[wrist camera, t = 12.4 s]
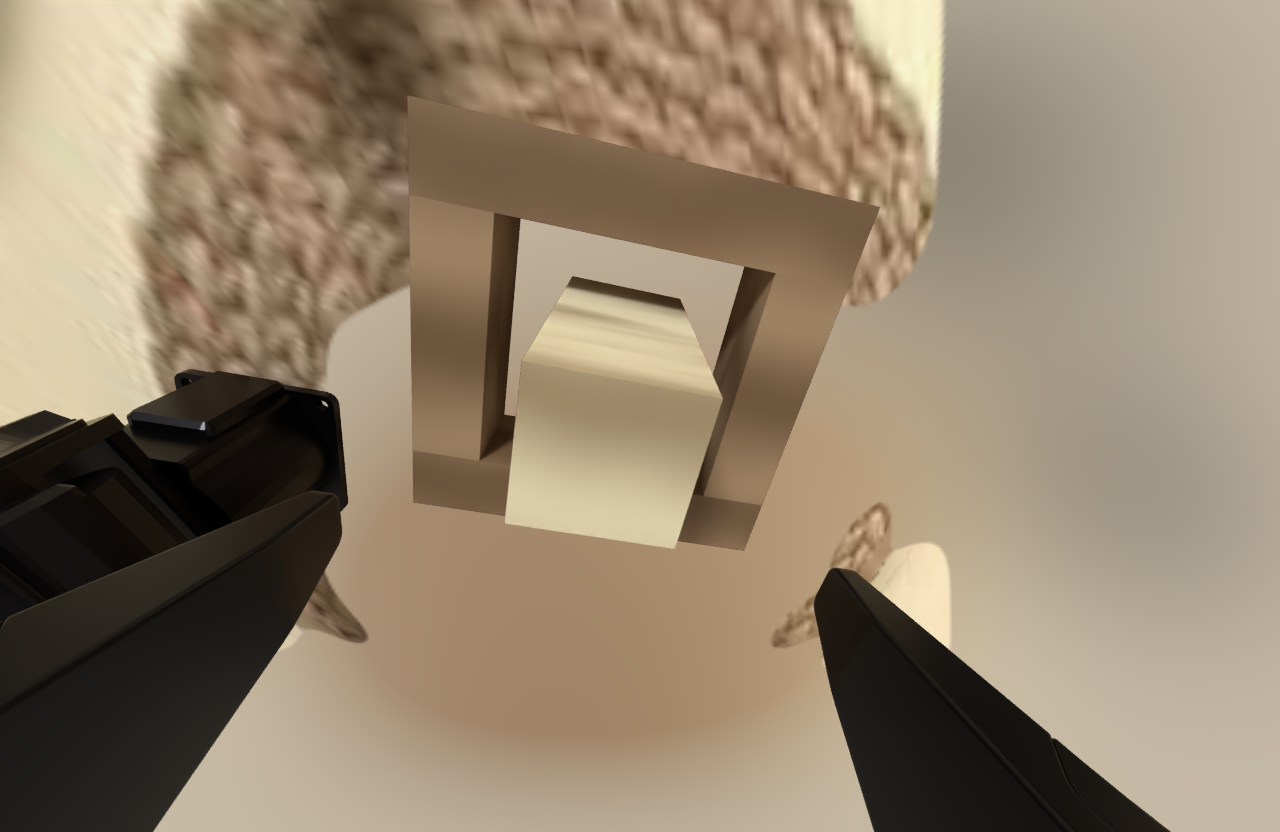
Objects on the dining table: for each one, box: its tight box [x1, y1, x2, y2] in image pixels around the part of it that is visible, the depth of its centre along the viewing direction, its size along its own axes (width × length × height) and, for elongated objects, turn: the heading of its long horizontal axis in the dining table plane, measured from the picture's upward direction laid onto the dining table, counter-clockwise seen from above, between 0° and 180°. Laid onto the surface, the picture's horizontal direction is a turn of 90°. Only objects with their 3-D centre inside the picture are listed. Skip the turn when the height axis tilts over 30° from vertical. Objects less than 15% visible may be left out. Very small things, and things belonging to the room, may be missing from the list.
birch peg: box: [505, 276, 723, 549], centre depth 16 cm, size 4×4×10 cm
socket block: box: [407, 95, 880, 550], centre depth 18 cm, size 14×14×4 cm
